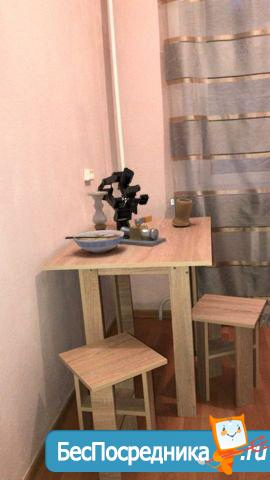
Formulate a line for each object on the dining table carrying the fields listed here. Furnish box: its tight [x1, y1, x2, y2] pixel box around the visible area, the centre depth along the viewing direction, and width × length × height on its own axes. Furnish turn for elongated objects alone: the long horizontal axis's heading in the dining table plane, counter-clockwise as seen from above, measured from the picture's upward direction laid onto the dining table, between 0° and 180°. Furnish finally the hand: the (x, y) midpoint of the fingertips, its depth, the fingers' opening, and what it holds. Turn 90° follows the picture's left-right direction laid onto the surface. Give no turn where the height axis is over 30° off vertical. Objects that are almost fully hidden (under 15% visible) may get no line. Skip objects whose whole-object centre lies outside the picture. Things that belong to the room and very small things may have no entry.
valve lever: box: [134, 214, 153, 226], centre depth 203 cm, size 12×3×3 cm, turn 145°
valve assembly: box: [118, 224, 167, 247], centre depth 200 cm, size 22×12×8 cm, turn 55°
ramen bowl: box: [64, 229, 124, 254], centre depth 188 cm, size 25×23×8 cm
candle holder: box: [86, 191, 108, 231], centre depth 209 cm, size 11×11×24 cm
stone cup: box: [171, 197, 194, 227], centre depth 236 cm, size 15×12×15 cm
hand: (136, 214), depth 210 cm, fingers closed
